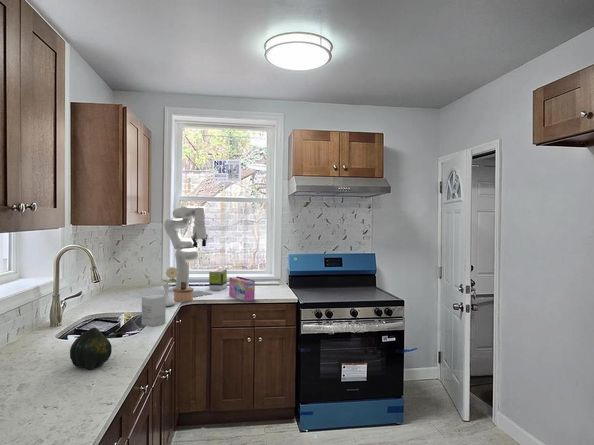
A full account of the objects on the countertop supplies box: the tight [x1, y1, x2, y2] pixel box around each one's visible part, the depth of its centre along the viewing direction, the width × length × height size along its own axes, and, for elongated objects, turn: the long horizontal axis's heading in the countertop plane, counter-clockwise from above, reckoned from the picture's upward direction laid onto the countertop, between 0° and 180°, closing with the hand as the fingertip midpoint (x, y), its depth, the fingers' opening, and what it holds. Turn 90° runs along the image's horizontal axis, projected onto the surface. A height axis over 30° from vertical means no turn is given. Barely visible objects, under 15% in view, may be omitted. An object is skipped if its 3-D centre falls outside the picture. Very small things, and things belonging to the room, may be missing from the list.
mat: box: [193, 290, 213, 298], centre depth 302 cm, size 17×17×1 cm
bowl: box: [173, 291, 194, 302], centre depth 283 cm, size 12×12×6 cm
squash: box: [69, 327, 113, 370], centre depth 161 cm, size 14×15×15 cm
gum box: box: [228, 276, 256, 302], centre depth 292 cm, size 24×8×14 cm, turn 39°
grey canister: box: [141, 294, 166, 328], centre depth 221 cm, size 9×9×15 cm
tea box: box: [208, 268, 228, 291], centre depth 326 cm, size 15×10×15 cm, turn 172°
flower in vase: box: [162, 266, 178, 307], centre depth 264 cm, size 13×11×25 cm
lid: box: [173, 281, 195, 293], centre depth 283 cm, size 14×14×6 cm
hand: (199, 246), depth 302 cm, fingers open, 9 cm apart
